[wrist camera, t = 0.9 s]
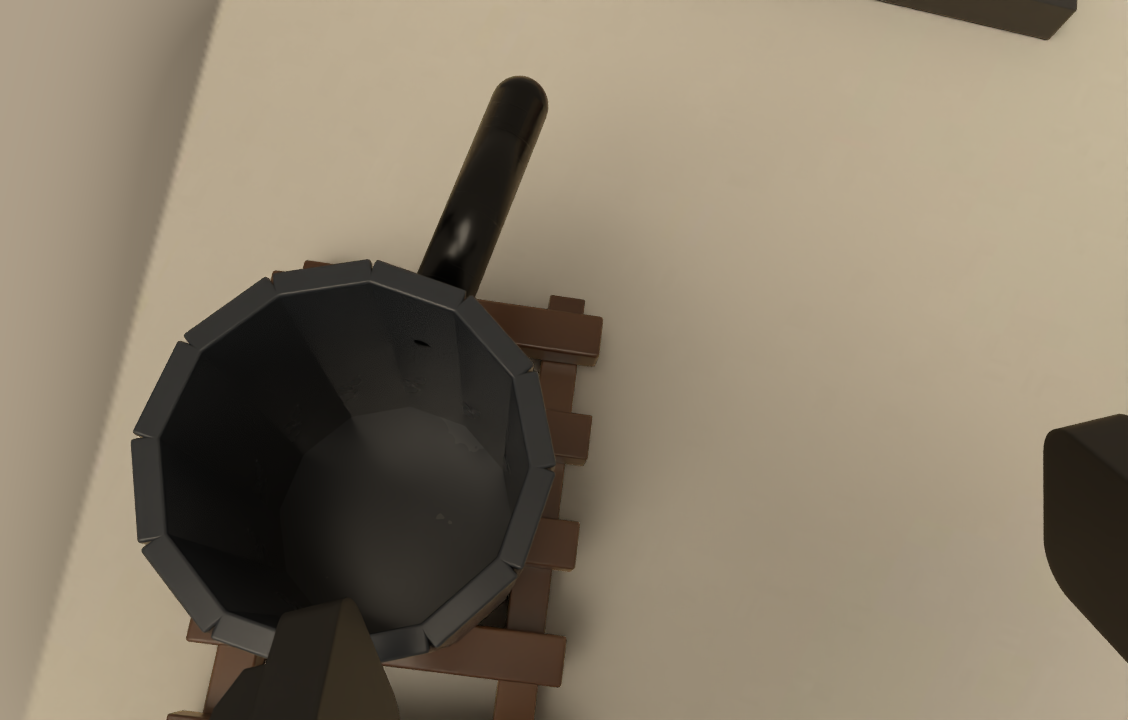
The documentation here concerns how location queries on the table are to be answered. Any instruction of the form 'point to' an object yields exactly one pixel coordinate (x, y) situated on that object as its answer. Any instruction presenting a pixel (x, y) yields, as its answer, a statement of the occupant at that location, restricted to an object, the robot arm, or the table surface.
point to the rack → (523, 645)
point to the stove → (1003, 13)
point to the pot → (356, 434)
